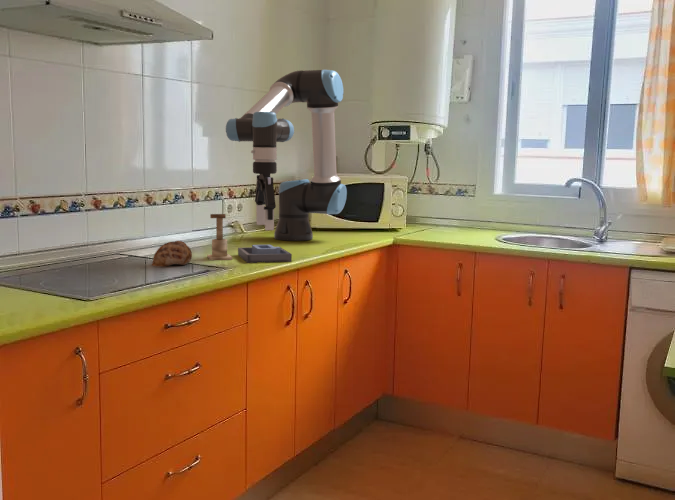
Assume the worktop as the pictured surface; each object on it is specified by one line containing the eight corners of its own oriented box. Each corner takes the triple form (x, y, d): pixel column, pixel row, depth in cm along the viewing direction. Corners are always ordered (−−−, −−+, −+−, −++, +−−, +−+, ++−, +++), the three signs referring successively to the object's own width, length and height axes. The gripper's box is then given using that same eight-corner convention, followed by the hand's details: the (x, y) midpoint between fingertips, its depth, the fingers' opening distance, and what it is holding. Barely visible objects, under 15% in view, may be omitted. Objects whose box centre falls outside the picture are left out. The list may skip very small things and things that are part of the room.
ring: (251, 254, 238) (251, 244, 237) (275, 254, 240) (275, 244, 240) (257, 258, 229) (257, 248, 228) (281, 258, 231) (281, 248, 231)
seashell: (172, 258, 226) (183, 232, 222) (189, 276, 222) (201, 250, 218) (145, 261, 217) (157, 235, 213) (163, 280, 214) (174, 253, 209)
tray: (279, 254, 244) (279, 246, 244) (291, 261, 228) (291, 253, 228) (238, 255, 240) (238, 247, 240) (247, 263, 224) (247, 255, 224)
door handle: (228, 256, 237) (228, 213, 235) (232, 259, 230) (232, 215, 228) (207, 257, 235) (207, 213, 233) (210, 260, 228) (210, 215, 226)
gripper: (245, 159, 241) (246, 222, 244) (261, 162, 217) (261, 232, 221) (268, 159, 243) (268, 222, 246) (285, 162, 219) (285, 232, 223)
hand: (265, 227), depth 233 cm, fingers open, 13 cm apart
